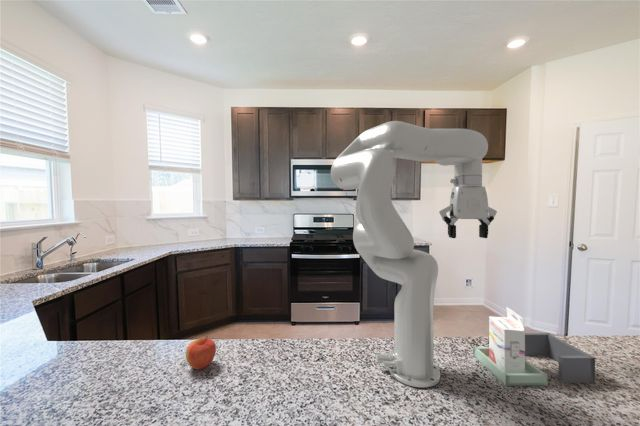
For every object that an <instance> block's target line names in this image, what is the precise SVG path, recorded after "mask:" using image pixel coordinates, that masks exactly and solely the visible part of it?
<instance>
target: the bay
mask: <svg viewBox="0 0 640 426" xmlns="http://www.w3.org/2000/svg"><path fill="white" fill-rule="evenodd" d="M525 356H548V357H550V358H551V359H553V360H554V361H556V362H557V363H558V375H557V376H558V377H557V378H558V381H559V382H560V383H562V384H564V383H565V384H568V383H569V384H570V383H571V384H572V383H574V384H576V383H580V384H581V383H583V384H586V383H591V384H592V383H596V357H594V356H592V355H591V354H589V353H587V352H585V351H583V350H581V349H579V348H578V347H576V346H574V345H571V344H570V343H568V342H566V341H565V340H562V339H560V338H558V337H557V336H555V335H553V334H551V333H548V332H525Z"/></svg>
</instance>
